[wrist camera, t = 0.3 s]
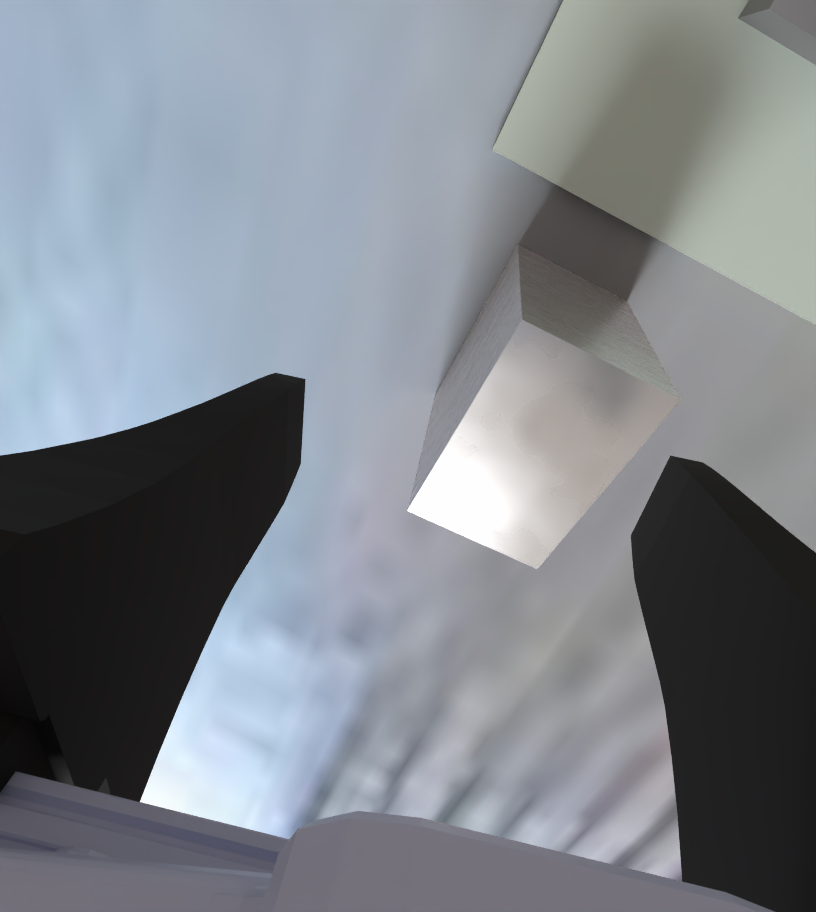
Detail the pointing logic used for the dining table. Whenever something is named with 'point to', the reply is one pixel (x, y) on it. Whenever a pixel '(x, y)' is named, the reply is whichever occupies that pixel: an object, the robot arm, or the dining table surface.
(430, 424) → the white block
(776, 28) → the board
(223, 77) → the dining table surface
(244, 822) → the dining table surface
